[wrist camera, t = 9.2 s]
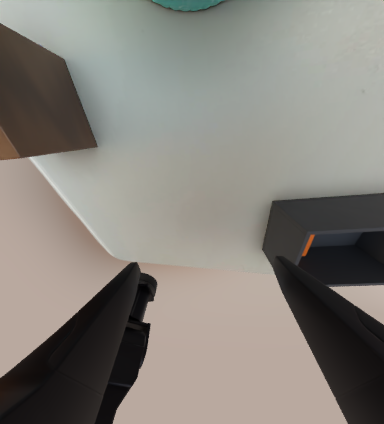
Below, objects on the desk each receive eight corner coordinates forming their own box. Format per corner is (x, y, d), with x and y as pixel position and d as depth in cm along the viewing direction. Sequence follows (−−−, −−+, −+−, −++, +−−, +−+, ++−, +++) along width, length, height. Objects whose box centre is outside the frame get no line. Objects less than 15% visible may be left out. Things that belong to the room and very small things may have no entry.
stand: (97, 146, 18) (21, 158, 10) (53, 151, 18) (-54, 165, 10) (63, 58, 14) (-108, -39, 6) (8, 66, 14) (-222, -16, 6)
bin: (353, 244, 25) (409, 284, 18) (262, 249, 26) (284, 288, 19) (386, 192, 20) (479, 221, 14) (272, 200, 21) (307, 231, 14)
